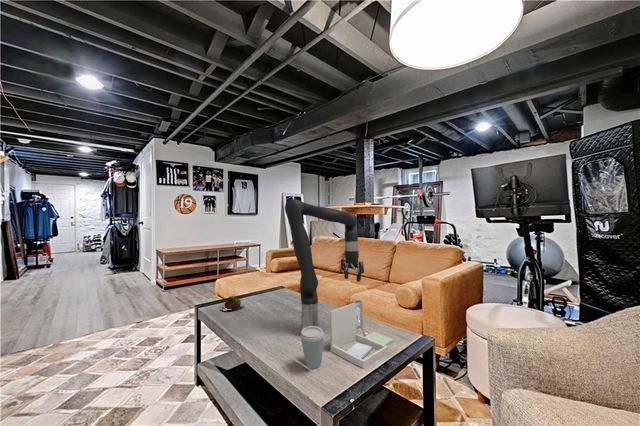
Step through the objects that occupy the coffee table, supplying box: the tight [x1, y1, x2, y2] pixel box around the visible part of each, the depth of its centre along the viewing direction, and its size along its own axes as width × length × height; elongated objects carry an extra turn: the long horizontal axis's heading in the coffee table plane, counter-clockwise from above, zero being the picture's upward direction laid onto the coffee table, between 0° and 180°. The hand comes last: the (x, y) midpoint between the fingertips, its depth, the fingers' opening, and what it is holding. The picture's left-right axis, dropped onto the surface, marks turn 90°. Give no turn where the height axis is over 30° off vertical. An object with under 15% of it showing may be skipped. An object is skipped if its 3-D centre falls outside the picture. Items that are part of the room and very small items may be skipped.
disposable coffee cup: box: [299, 326, 325, 370], centre depth 115 cm, size 11×11×15 cm
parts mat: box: [365, 331, 395, 347], centre depth 134 cm, size 10×12×2 cm
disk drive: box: [345, 299, 364, 329], centre depth 151 cm, size 10×3×15 cm, turn 122°
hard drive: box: [347, 342, 373, 359], centre depth 123 cm, size 2×8×12 cm
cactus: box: [224, 294, 243, 311], centre depth 190 cm, size 17×16×10 cm
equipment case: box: [329, 301, 389, 369], centre depth 124 cm, size 19×20×19 cm
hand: (352, 279), depth 141 cm, fingers open, 8 cm apart
